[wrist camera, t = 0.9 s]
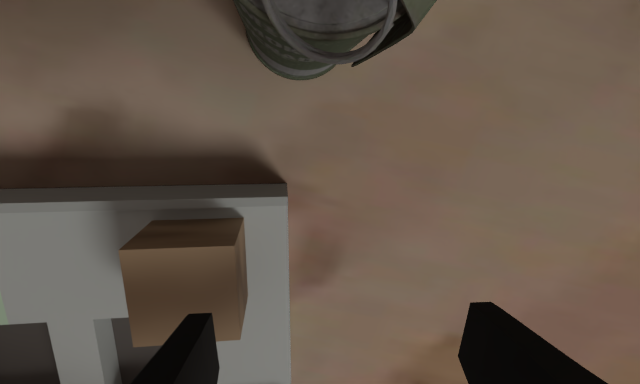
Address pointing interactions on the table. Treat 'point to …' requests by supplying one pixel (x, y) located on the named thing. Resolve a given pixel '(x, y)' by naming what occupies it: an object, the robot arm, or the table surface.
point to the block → (185, 277)
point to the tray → (107, 283)
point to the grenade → (325, 31)
